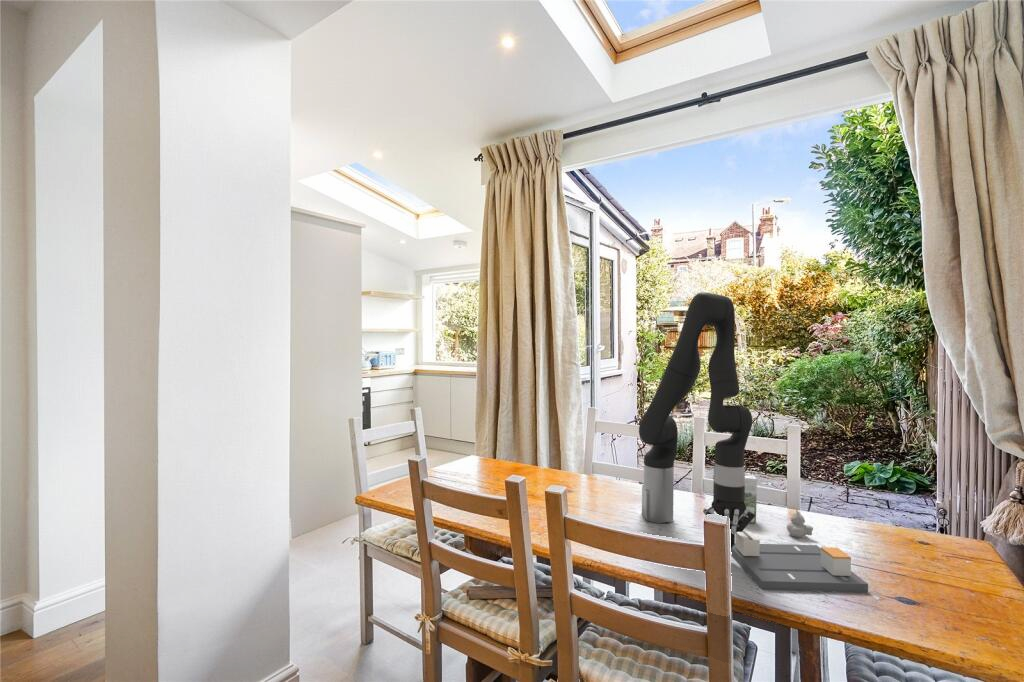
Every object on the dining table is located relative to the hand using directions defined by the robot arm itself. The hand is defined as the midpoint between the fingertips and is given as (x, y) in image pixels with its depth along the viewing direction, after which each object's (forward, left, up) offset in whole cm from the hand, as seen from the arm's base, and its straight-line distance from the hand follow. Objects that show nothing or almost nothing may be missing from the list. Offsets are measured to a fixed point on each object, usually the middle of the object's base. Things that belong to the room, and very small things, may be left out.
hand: (728, 546), depth 125 cm
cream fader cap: (+5, 0, -1) cm, 5 cm away
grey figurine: (+27, +16, -4) cm, 31 cm away
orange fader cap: (+22, -9, -1) cm, 24 cm away
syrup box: (+16, +28, -4) cm, 32 cm away
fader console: (+14, -4, -4) cm, 15 cm away
